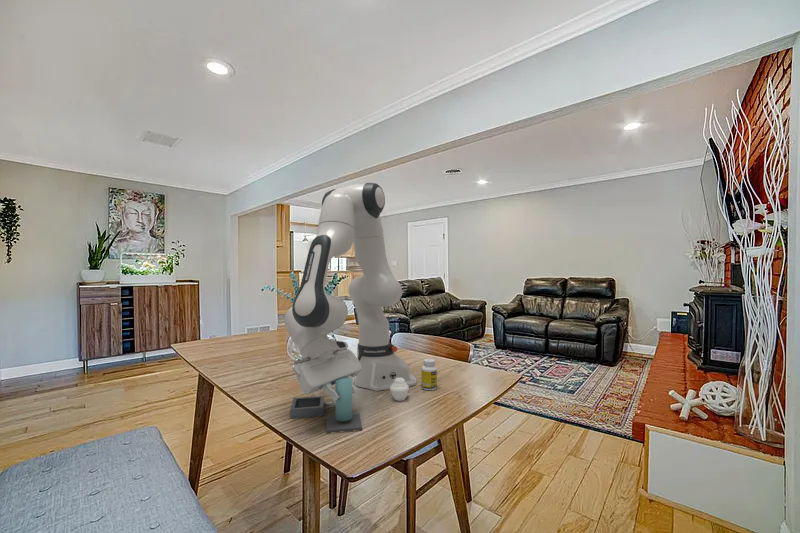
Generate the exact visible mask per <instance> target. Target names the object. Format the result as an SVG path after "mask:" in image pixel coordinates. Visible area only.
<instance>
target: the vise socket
mask: <svg viewBox="0 0 800 533" xmlns="http://www.w3.org/2000/svg"><path fill="white" fill-rule="evenodd" d="M326 407H327V408H329V407H336V401H326V402H325V395H318V396H304V397H293V399H292V401H291V406H290V408H289V419H290V420H291V419H302V418H314V416H318V417H324V412H325V411H324V409H325V408H326Z"/></svg>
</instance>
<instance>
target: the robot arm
mask: <svg viewBox="0 0 800 533" xmlns="http://www.w3.org/2000/svg"><path fill="white" fill-rule="evenodd" d="M385 205H386V198H385V192H384V190H383V188H382V187H381V186H380V185H379V184H378V183H375V182H366V183H356V184H350V185H347V186H343V187H340V188H335V189H330V190H329V191H327V192H325V193H324V195H323V197H322V200H321V210H320V212H319V219H318V224H317V231H316V236H315V237H314V239H313V240H312V241H311V243H310V246H309V249H308V253H307V256H306V261H305V265H304V269H303V274H302V277H301V283H300V284H299V285H300V286H299V288H298V290H297V293H296V295H295V297H294V299H293V302H292V306H291V307H290V308H288V310H287V311H286V312H285V314H284V317H283V321H284V322H283V323H284V326H285V327H284V328H286V331H287V333H288V335H289V338H290V339H291V340H292V342H293V344H294V345H295V346H297V348H298V349H299V350H298V351H299V353H300V356H301V357H302V359H296V360H295V361H294V363H293V364H292V368H291V369H292V370H293V372H294V373H295V374H294V375H296V376H295V378H296V380H297V382H298V384H299V387H300V389H301V390H302V392H303V393H304V394H306V395H310V394H312V393H315V392H318V391H320V390H322V391H323V393H324V394H326V395H327V396H329V397H331V399H332V400H333V401H332V402H336V401H337V400H339V399H340V398H341V395H340V393H339V391H336V389H334V388H332V386H334V385H336V380H337V379H340V378H351V379H352V395H353V394H354V393H355V392H357V388H356V387H355V386H357V387H358V388H364V389H368V390H369V389H370V390H372V391H376V392H378V391H384V390H390V386H391V385H392V384H393V383H394V380H395V379H396V378H399V377H400V378H403V379H404V380H405V382H406V384H407V385H408V386H409V387H414V386H416V385H417V378H416V377H415V376H414V375H413V374H412V373H411V370H410V366H409V364H408V363H407V362H406V361H405V360H404V359H402V357H400V356H399V355H398V354H396V353H397V352H398V347H397V346H396V345H394V344H393V343H392V342H390V322H389V320H388V318H387V317H386V315H385V313H384V311H383V308H386V307H387V308H388V307H391V306H394V305H396V304H397V303H398V302H400V300H401V298H402V295H403V294H402V293H403V289H402V285H401V283H400V282H399V280H397V278H396V277H395V276H394V274H393V272H392V270H391V267H390V264H389V263H388V259H387V254H386V247H385V246H386V245H385V238H384V230H383V224H382V220H381V216H380V215H381V213H383V211H384V208H385ZM352 246H353V247H354V248H353V249H354V258H355V262H356V263H357V264H358V265H359V267H360V270H361V271H362V274H363V275H361V276H357V277H354V278H353V279H352V280H351V281H350V283H349V285H348V290H347V291H348V295H349V297H350V299H351V300H352V302H353V305H354V308H355V311H356V315H357V316H356V317H357V323H358V343H357V349H356V351H357V352H356V354H357V355H356V354H355V353H354V352H353V351H352V350H351V349H349V344H348V343H347V341H342V340H341V341H340V340H334V339H330V338H329V337H328V334H329V335H330V333H331V334H332V332H334V331H335V330H338V329H339V328H340V327H342V325H344V324H345V322H346V321H347V318H348V314H349V311H348V305H347V304H346V302H345V301H344V300H342V299H341V298H339V297H336V296H334V295H330V294H328V293H327V292H326V290H325V284H326V281H327V275H328V270H329V267H330V266H329V265H330V262H331V260H332V259H333V258H334V257H339V256H342V255H345V254H346V253H348V252H349V251H350V250H351V249H352ZM354 377H355V379H354ZM354 385H355V386H354Z"/></svg>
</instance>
